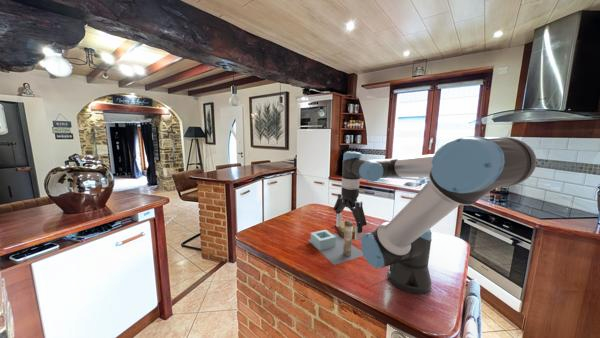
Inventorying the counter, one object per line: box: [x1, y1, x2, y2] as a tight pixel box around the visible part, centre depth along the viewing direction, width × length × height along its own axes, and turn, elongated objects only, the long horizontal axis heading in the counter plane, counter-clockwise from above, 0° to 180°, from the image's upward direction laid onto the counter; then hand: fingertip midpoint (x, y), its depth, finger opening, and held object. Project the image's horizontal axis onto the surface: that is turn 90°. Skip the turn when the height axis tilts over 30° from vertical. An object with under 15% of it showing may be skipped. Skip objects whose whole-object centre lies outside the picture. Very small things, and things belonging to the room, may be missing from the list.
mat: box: [307, 232, 364, 266], centre depth 109 cm, size 24×18×1 cm
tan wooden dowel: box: [343, 219, 354, 257], centre depth 101 cm, size 4×4×16 cm
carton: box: [337, 219, 355, 239], centre depth 126 cm, size 8×16×4 cm, turn 2°
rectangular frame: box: [310, 229, 336, 251], centre depth 111 cm, size 9×9×5 cm
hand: (347, 232), depth 101 cm, fingers open, 13 cm apart
